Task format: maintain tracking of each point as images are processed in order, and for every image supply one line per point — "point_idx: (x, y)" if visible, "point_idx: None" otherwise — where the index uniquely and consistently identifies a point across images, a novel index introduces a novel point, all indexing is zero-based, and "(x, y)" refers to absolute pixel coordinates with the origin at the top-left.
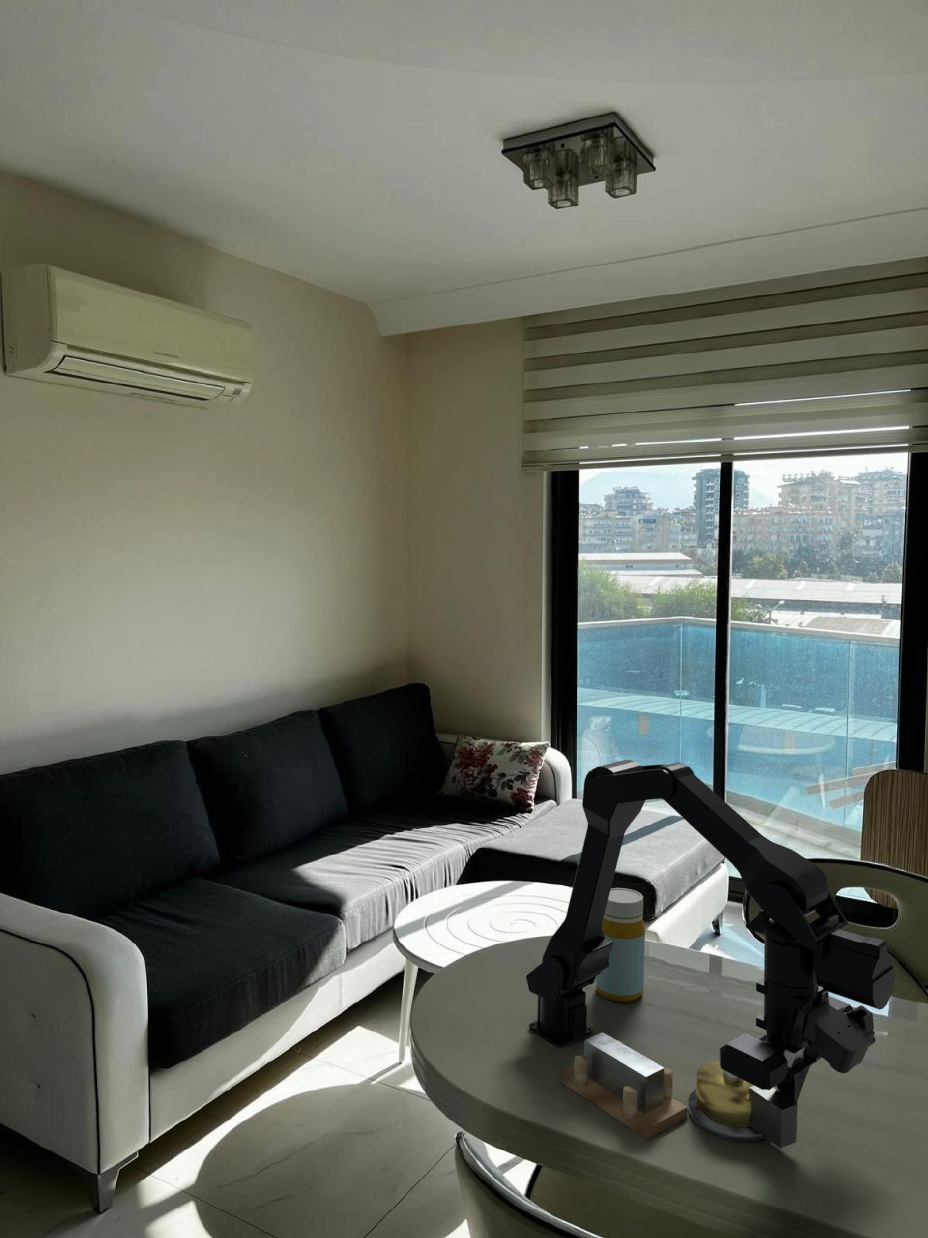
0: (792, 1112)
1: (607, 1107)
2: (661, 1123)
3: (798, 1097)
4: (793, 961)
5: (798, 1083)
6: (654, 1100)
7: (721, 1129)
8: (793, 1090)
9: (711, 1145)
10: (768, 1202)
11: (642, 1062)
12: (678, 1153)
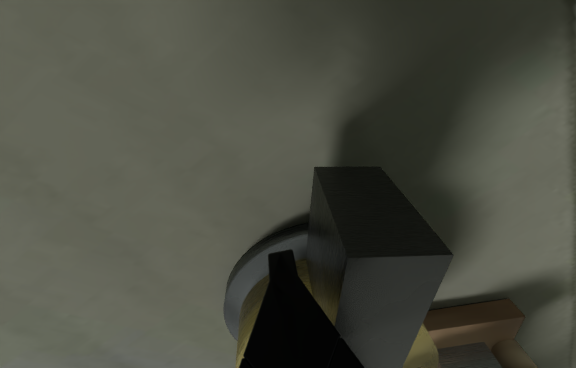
0: (372, 235)
1: None
2: (481, 319)
3: (271, 287)
4: None
5: (313, 365)
6: (469, 365)
7: None
8: (335, 329)
9: None
10: (561, 42)
11: None
12: (510, 256)
